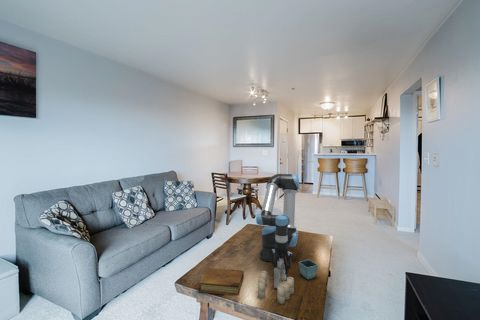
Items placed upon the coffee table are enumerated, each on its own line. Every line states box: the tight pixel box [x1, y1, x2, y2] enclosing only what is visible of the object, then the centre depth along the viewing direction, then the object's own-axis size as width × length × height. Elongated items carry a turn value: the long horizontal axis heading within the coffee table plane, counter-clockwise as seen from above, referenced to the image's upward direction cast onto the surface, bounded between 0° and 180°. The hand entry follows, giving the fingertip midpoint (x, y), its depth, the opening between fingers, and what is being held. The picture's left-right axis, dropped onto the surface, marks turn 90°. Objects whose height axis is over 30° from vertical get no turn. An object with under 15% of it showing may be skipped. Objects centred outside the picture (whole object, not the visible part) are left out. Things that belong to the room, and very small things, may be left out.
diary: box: [198, 267, 245, 296], centre depth 141 cm, size 23×19×6 cm
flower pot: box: [298, 259, 319, 280], centre depth 150 cm, size 9×9×9 cm
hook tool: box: [273, 258, 285, 289], centre depth 142 cm, size 13×4×12 cm, turn 155°
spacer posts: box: [257, 270, 295, 305], centre depth 131 cm, size 14×20×8 cm
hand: (281, 278), depth 146 cm, fingers closed on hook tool, 4 cm apart
